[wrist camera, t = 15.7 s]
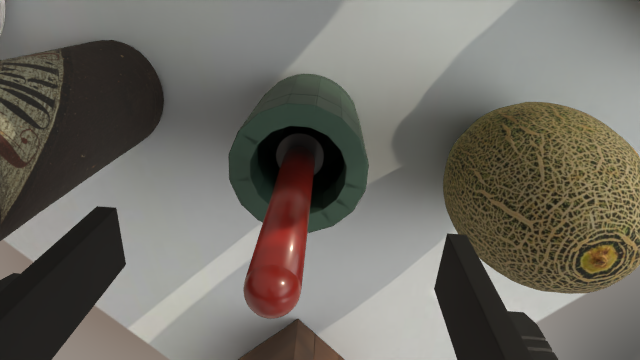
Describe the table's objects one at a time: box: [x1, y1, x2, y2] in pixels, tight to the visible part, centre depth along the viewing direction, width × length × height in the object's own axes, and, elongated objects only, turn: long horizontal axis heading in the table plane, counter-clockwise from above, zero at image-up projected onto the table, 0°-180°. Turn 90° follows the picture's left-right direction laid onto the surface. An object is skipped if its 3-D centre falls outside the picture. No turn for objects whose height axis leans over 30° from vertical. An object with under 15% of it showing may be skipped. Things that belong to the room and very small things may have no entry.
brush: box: [244, 126, 326, 318], centre depth 23 cm, size 3×3×21 cm
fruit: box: [443, 102, 640, 293], centre depth 27 cm, size 11×11×15 cm
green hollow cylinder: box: [229, 74, 369, 233], centre depth 28 cm, size 8×8×10 cm
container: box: [0, 40, 164, 241], centre depth 23 cm, size 9×9×20 cm
